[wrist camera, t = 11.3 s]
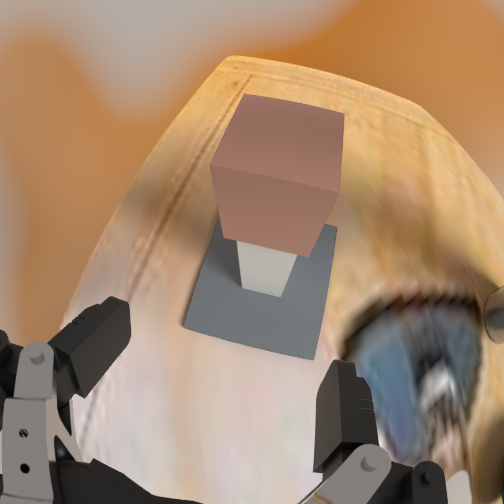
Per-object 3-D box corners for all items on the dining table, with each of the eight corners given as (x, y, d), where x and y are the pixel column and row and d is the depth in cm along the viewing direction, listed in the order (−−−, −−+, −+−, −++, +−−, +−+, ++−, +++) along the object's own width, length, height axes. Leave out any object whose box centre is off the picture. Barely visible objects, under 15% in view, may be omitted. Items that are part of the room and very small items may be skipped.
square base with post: (225, 204, 40) (211, 104, 24) (335, 229, 38) (381, 140, 22) (184, 328, 33) (123, 288, 17) (312, 360, 32) (372, 351, 15)
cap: (245, 172, 23) (244, 93, 15) (320, 188, 22) (344, 113, 15) (223, 237, 20) (209, 165, 13) (308, 257, 20) (338, 192, 12)
